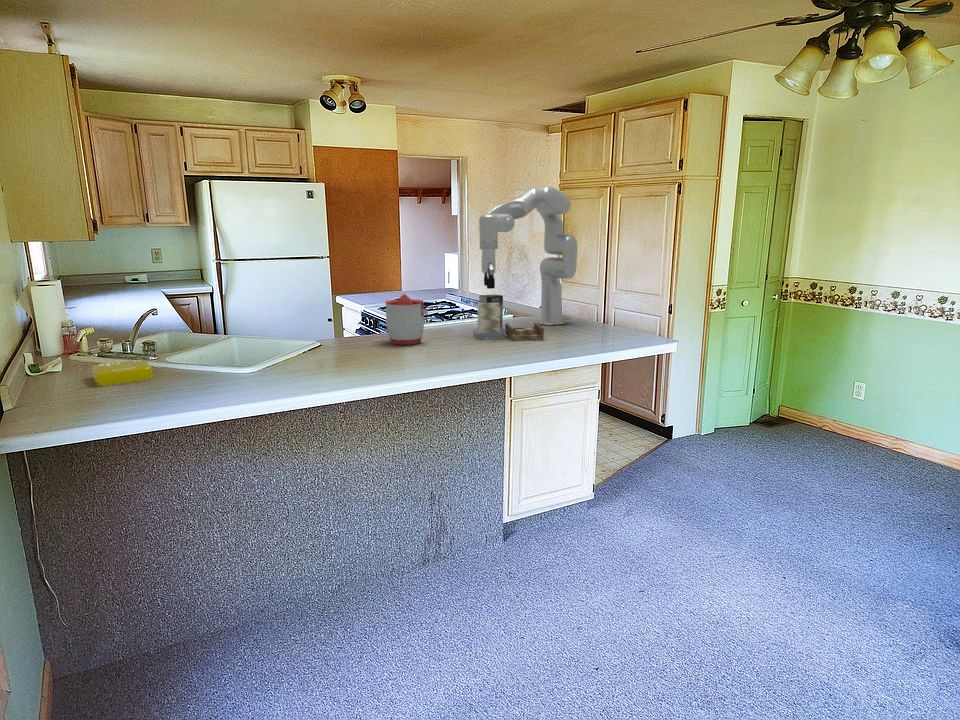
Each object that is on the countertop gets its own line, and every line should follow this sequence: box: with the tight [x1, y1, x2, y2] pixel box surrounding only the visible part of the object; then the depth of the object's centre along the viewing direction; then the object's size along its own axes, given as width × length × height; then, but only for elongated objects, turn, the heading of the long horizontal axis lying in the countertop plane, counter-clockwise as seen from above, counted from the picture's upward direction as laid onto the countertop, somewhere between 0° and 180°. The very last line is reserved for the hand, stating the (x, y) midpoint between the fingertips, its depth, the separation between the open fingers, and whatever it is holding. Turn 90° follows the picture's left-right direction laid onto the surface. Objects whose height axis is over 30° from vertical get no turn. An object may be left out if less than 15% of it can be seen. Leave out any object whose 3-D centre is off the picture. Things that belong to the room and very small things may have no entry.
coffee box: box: [478, 293, 504, 331], centre depth 268 cm, size 9×6×16 cm
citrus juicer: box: [384, 293, 430, 346], centre depth 241 cm, size 16×17×20 cm
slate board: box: [473, 329, 505, 340], centre depth 254 cm, size 12×8×2 cm, turn 96°
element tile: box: [91, 359, 154, 387], centre depth 189 cm, size 15×15×5 cm
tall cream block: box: [477, 302, 500, 333], centre depth 252 cm, size 9×4×12 cm, turn 96°
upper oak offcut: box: [514, 327, 535, 336], centre depth 251 cm, size 8×4×2 cm, turn 124°
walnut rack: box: [504, 322, 545, 341], centre depth 253 cm, size 14×14×5 cm
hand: (489, 286), depth 250 cm, fingers open, 9 cm apart
